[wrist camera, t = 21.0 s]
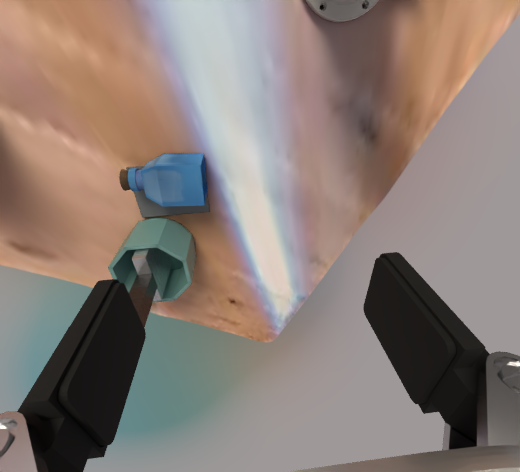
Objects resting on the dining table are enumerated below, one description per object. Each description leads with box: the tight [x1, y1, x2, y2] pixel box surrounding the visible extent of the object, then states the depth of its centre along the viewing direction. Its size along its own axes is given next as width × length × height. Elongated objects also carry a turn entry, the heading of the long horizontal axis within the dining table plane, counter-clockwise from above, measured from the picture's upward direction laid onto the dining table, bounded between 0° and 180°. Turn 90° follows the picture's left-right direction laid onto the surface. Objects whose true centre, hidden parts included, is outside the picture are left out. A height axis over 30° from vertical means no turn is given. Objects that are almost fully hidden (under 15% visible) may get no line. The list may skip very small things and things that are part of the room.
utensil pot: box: [108, 217, 196, 302], centre depth 47 cm, size 12×12×9 cm
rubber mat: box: [126, 166, 210, 217], centre depth 45 cm, size 12×9×1 cm
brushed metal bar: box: [129, 247, 172, 327], centre depth 42 cm, size 2×9×18 cm, turn 4°
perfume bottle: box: [120, 153, 207, 206], centre depth 40 cm, size 6×6×12 cm
